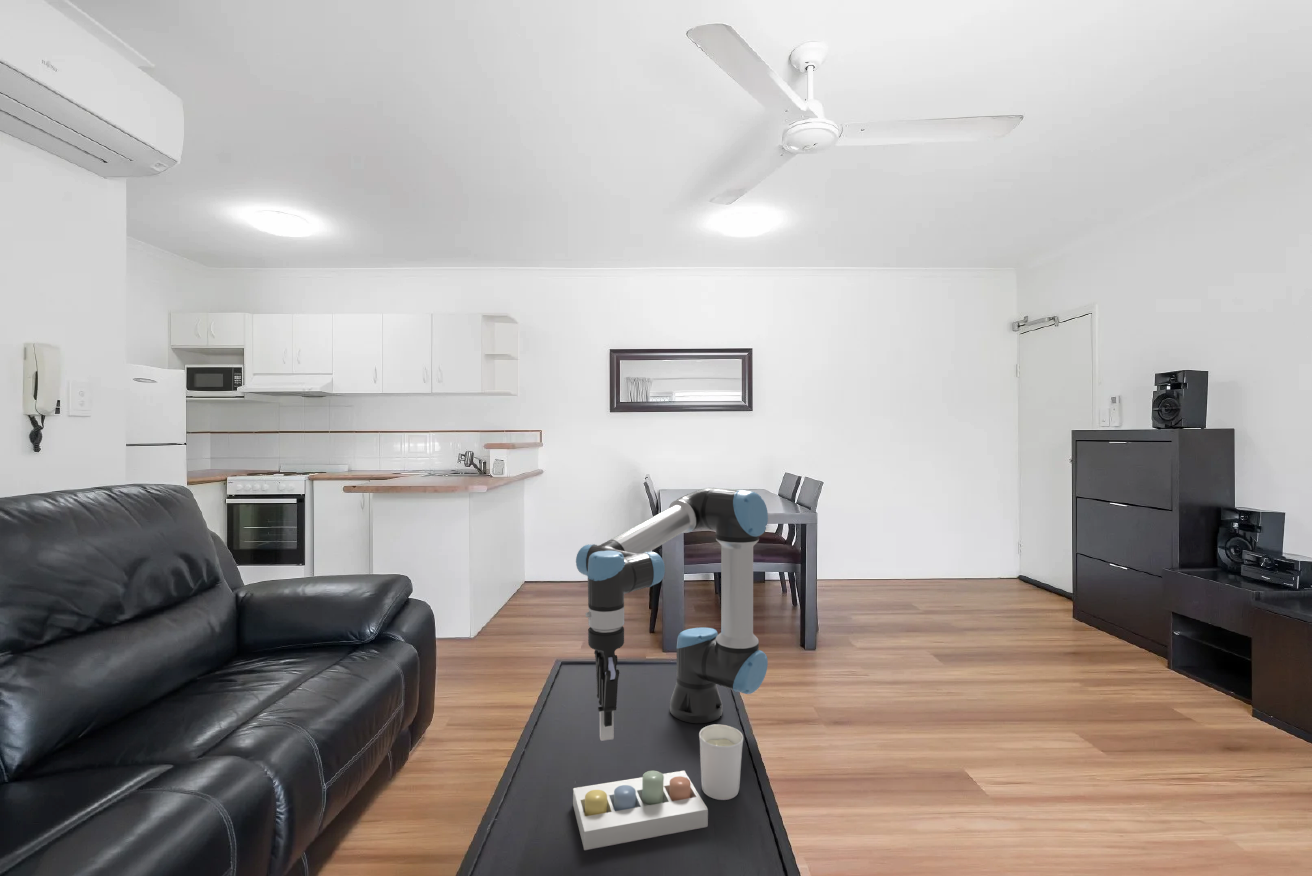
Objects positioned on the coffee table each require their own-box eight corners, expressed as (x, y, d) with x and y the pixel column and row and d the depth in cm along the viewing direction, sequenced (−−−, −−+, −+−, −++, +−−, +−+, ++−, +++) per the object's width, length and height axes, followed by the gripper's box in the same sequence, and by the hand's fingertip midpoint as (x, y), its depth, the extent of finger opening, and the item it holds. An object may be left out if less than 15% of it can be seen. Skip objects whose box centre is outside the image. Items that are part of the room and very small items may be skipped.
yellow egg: (604, 809, 118) (604, 788, 118) (608, 823, 114) (609, 800, 114) (582, 813, 116) (583, 791, 116) (586, 827, 112) (587, 804, 112)
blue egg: (632, 805, 119) (632, 783, 120) (637, 818, 115) (638, 796, 115) (611, 808, 118) (612, 786, 118) (616, 822, 114) (616, 799, 114)
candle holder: (731, 808, 120) (732, 751, 121) (690, 792, 126) (691, 737, 126) (749, 785, 129) (750, 731, 129) (710, 771, 134) (711, 720, 134)
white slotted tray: (684, 786, 128) (684, 770, 128) (707, 826, 115) (707, 809, 115) (572, 804, 121) (573, 788, 121) (584, 850, 107) (584, 831, 107)
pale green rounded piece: (659, 790, 121) (660, 769, 121) (666, 803, 117) (666, 781, 117) (639, 793, 120) (640, 772, 120) (645, 806, 116) (645, 784, 116)
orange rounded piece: (685, 795, 123) (686, 774, 123) (693, 808, 119) (693, 786, 119) (666, 799, 122) (666, 778, 122) (673, 812, 117) (673, 790, 118)
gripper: (582, 618, 124) (583, 725, 125) (594, 639, 112) (595, 758, 112) (616, 615, 127) (616, 720, 127) (631, 635, 114) (631, 751, 115)
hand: (606, 737), depth 120 cm, fingers closed
